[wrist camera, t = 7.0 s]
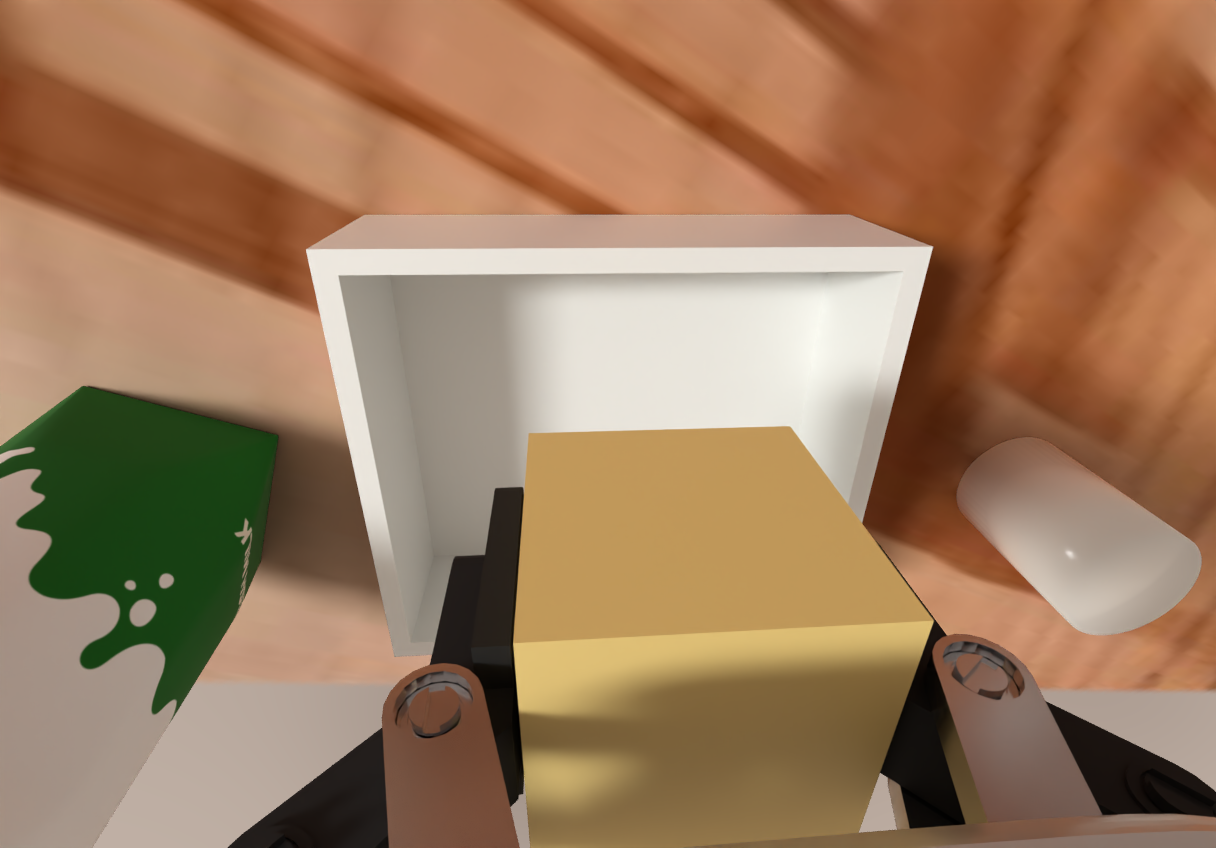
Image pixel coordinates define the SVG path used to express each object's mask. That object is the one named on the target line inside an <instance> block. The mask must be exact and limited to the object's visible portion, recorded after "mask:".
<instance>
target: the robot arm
mask: <svg viewBox="0 0 1216 848" xmlns="http://www.w3.org/2000/svg"><path fill="white" fill-rule="evenodd" d="M523 503H524V489H523V487H507V488H495V491H494V497H493V504H492V511H491V517H490V524H489V531H488V537H487V544H486V551H485V555H470V556H455V557H454V559H453V562H452V566H451V571H450V575H449V580H448V585H447V589H446V594H445V598H444V603H443V607H442V612H441V616H440V621H439V626H438V630H437V635H436V639H435V644H434V648H433V653H432V657H431V662H430V665H428V666H425V667H423V668H420V669H418V670H415V671H413V672H412V673H410V674H409V675H407V676H406V677H405V678H403V679H402V680H400V681H399V683H398V684H397V685H396V686H395V687H394V688H393V689H392V690H391V692H390V693H389V695H388V697H387V699H386V701H385V703H384V706H383V714H382V728H381V729H380V730H378V731H377V732H376V733H374V734H373V735H372V736H371V737H369V738H368V739H367V740H365V741H364V742H363V743H361V744H360V745H359V746H357V747H356V748H355V749H353V750H352V751H351V752H349V753H348V754H347V755H346V756H344V757H343V758H342V759H340V760H339V761H338V762H336V763H335V764H334V765H332V766H331V767H330V768H329V769H327V770H326V771H325V772H323V773H322V774H321V775H319V776H318V777H317V778H315V779H314V780H313V781H312V782H310V783H309V784H307V785H306V786H305V787H304V788H302V789H301V790H300V791H298V792H297V793H296V794H294V795H293V796H292V797H290V798H289V799H288V800H286V801H285V802H284V803H283V804H281V805H280V806H279V807H277V808H276V809H275V810H273V811H272V812H271V813H269V814H268V815H267V816H265V817H264V818H263V819H262V820H260V821H259V822H258V823H256V824H255V825H254V826H252V827H251V828H250V829H248V830H247V831H246V832H244V833H243V834H242V835H241V836H240V837H239V838H237V840H235V841H234V842H233V843H232V844H231V845H230V846H229V847H228V848H520V847H519V843H518V839H517V835H516V831H515V826H514V821H513V817H512V813H511V808H510V807H511V806H512V805H513V804H514V803H515V802H516V801H517V799H518V796H519V794H523V786H524V767H523V755H522V743H521V731H520V719H519V707H518V695H517V683H516V671H515V659H514V647H513V639H514V625H515V612H516V598H517V584H518V571H519V557H520V544H521V530H522V517H523ZM875 542H876V541H875ZM876 543H877V542H876ZM877 544H878V543H877ZM878 546H879V547H880V548H881V546H880V545H879V544H878ZM881 550H882V551H883V552H884V550H883V549H882V548H881ZM884 554H885V555H886V556H887V554H886V553H885V552H884ZM887 558H888V559H889V561H890V562H891V563H892V565H893V566H894V567H895V569H896V570H897V571H898V573H899V574H900V575H901V577H902V578H903V579H904V581H905V582H906V584H907V585H908V586H909V588H910V589H911V590H912V592H913V593H914V594H915V596H916V597H917V598H918V600H919V601H920V602H921V604H922V605H923V607H924V608H925V609H926V611H927V612H928V613H929V615H930V616H931V617H932V619H933V620H934V622H933V625H932V628H931V630H930V633H929V636H928V639H927V642H926V645H925V647H924V650H923V653H922V656H921V659H920V661H919V664H918V667H917V670H916V673H915V675H914V678H913V681H912V684H911V687H910V689H909V692H908V695H907V698H906V701H905V704H904V706H903V709H902V712H901V715H900V718H899V720H898V723H897V726H896V729H895V732H894V734H893V737H892V740H891V743H890V746H889V748H888V751H887V754H886V757H885V760H884V763H883V765H882V768H881V771H880V773H881V774H883V775H885V776H886V777H888V788H889V793H890V798H891V803H892V808H893V813H894V817H895V822H896V827H897V830H888V831H875V832H863V833H851V834H838V835H826V836H814V837H801V838H789V839H777V840H765V841H753V842H741V843H729V844H717V845H705V846H693V847H682V848H1216V792H1215V791H1214V790H1213V789H1212V788H1211V787H1209V786H1208V785H1207V784H1205V783H1204V782H1203V781H1201V780H1200V779H1199V778H1198V777H1196V776H1195V775H1193V774H1192V773H1190V772H1188V771H1186V770H1185V769H1183V768H1181V767H1179V766H1178V765H1176V764H1174V763H1172V762H1170V761H1168V760H1166V759H1164V758H1162V757H1160V756H1157V755H1155V754H1153V753H1151V752H1149V751H1147V750H1145V749H1143V748H1141V747H1139V746H1137V745H1135V744H1133V743H1131V742H1129V741H1127V740H1125V739H1122V738H1120V737H1118V736H1116V735H1114V734H1112V733H1110V732H1108V731H1106V730H1104V729H1102V728H1100V727H1098V726H1095V725H1094V724H1092V723H1089V722H1087V721H1085V720H1083V719H1081V718H1079V717H1077V716H1075V715H1073V714H1071V713H1069V712H1067V711H1065V710H1063V709H1061V708H1059V707H1056V706H1054V705H1052V704H1050V703H1048V702H1046V701H1045V700H1044V698H1043V696H1042V694H1041V692H1040V690H1039V688H1038V686H1037V684H1036V682H1035V680H1034V678H1033V676H1032V675H1031V673H1030V672H1029V670H1028V669H1027V667H1026V666H1025V665H1024V664H1023V663H1022V662H1021V661H1020V660H1019V659H1018V658H1017V657H1016V656H1014V655H1013V654H1012V653H1010V652H1009V651H1007V650H1006V649H1004V648H1003V647H1001V646H999V645H997V644H995V643H993V642H991V641H988V640H986V639H984V638H980V637H976V636H972V635H965V634H953V635H949V636H947V635H946V634H945V632H944V631H943V630H942V628H941V627H940V626H939V624H938V623H937V622H936V620H935V619H934V618H933V616H932V615H931V613H930V612H929V611H928V609H927V608H926V607H925V605H924V604H923V603H922V601H921V600H920V599H919V597H918V596H917V595H916V593H915V592H914V591H913V589H912V588H911V587H910V585H909V584H908V583H907V581H906V580H905V578H904V577H903V576H902V574H901V573H900V572H899V570H898V569H897V568H896V566H895V565H894V564H893V562H892V561H891V560H890V558H889V557H888V556H887Z"/></svg>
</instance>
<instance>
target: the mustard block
mask: <svg viewBox="0 0 1216 848" xmlns="http://www.w3.org/2000/svg"><path fill="white" fill-rule="evenodd" d="M933 622H934V620H933V619H932V617H931V616H930V615H929V613H928V612H927V611H926V609H925V608H924V607H923V605H922V604H921V602H920V601H919V600H918V598H917V597H916V596H915V594H914V593H913V592H912V590H911V589H910V588H909V586H908V585H907V584H906V582H905V581H904V579H903V578H902V577H901V575H900V574H899V573H898V571H897V570H896V569H895V567H894V566H893V565H892V563H891V562H890V561H889V559H888V558H887V556H886V555H885V554H884V552H883V551H882V550H881V548H880V547H879V546H878V544H877V543H876V542H875V540H874V539H873V538H872V536H871V535H870V534H869V532H868V531H867V529H866V528H865V527H864V525H863V524H862V523H861V521H860V520H859V519H858V517H857V516H856V515H855V513H854V512H853V511H852V509H851V508H850V506H849V505H848V504H847V502H846V501H845V500H844V498H843V497H842V496H841V494H840V493H839V492H838V490H837V489H836V488H835V486H834V485H833V483H832V482H831V481H830V479H829V478H828V477H827V475H826V474H825V473H824V471H823V470H822V469H821V467H820V466H819V465H818V463H817V462H816V460H815V459H814V458H813V456H812V455H811V454H810V452H809V451H808V450H807V448H806V447H805V446H804V444H803V443H802V442H801V440H800V439H799V437H798V436H797V435H796V433H795V432H794V431H793V429H792V428H791V427H790V426H775V427H738V428H701V429H664V430H628V431H591V432H554V433H529V435H528V449H527V462H526V476H525V489H524V503H523V517H522V530H521V544H520V557H519V571H518V584H517V598H516V612H515V625H514V639H513V647H514V659H515V671H516V683H517V695H518V707H519V719H520V731H521V743H522V755H523V767H524V778H525V791H526V803H527V815H528V827H529V838H530V848H682V847H693V846H705V845H717V844H729V843H741V842H753V841H765V840H777V839H789V838H801V837H814V836H826V835H838V834H851V833H859V830H860V827H861V824H862V822H863V819H864V816H865V813H866V810H867V807H868V805H869V801H870V799H871V796H872V793H873V790H874V788H875V785H876V782H877V779H878V777H879V774H880V771H881V768H882V765H883V763H884V760H885V757H886V754H887V751H888V748H889V746H890V743H891V740H892V737H893V734H894V732H895V729H896V726H897V723H898V720H899V718H900V715H901V712H902V709H903V706H904V704H905V701H906V698H907V695H908V692H909V689H910V687H911V684H912V681H913V678H914V675H915V673H916V670H917V667H918V664H919V661H920V659H921V656H922V653H923V650H924V647H925V645H926V642H927V639H928V636H929V633H930V630H931V628H932V625H933Z"/></svg>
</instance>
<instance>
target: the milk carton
mask: <svg viewBox="0 0 1216 848" xmlns="http://www.w3.org/2000/svg"><path fill="white" fill-rule="evenodd" d="M277 444H278V435H275V434H271V433H267V432H263V431H259V430H255V429H251V428H247V427H243V426H239V425H235V424H232V423H228V422H224V421H220V420H216V419H212V418H208V417H204V416H200V415H196V414H192V413H188V412H184V411H180V410H176V409H173V408H169V407H165V406H161V405H157V404H153V403H149V402H145V401H141V400H137V399H133V398H129V397H125V396H121V395H117V394H114V393H110V392H106V391H102V390H98V389H94V388H90V387H86V386H82V387H80V388H79V389H78V390H76V391H75V392H74V393H72V394H71V395H70V396H68V397H67V398H66V399H64V400H63V401H62V402H60V403H59V404H57V405H56V406H55V407H53V408H52V409H51V410H49V411H48V412H47V413H45V414H44V415H42V416H41V417H40V418H38V419H37V420H36V421H34V422H33V423H32V424H30V425H29V426H27V427H26V428H25V429H23V430H22V431H21V432H19V433H18V434H17V435H15V436H14V437H12V438H11V439H10V440H8V441H7V442H6V443H4V444H3V445H2V446H0V848H93V846H94V844H95V843H96V841H97V840H98V838H99V836H100V834H101V833H102V832H103V830H104V828H105V827H106V825H107V824H108V822H109V820H110V818H111V817H112V815H113V814H114V812H115V811H116V809H117V807H118V806H119V804H120V802H121V801H122V799H123V798H124V796H125V795H126V793H127V791H128V790H129V788H130V786H131V785H132V783H133V782H134V780H135V778H136V777H137V775H138V774H139V772H140V770H141V769H142V767H143V765H144V764H145V762H146V761H147V759H148V757H149V756H150V754H151V753H152V751H153V749H154V748H155V746H156V744H157V743H158V741H159V740H160V738H161V736H162V735H163V733H164V732H165V730H166V728H167V727H168V725H169V724H170V722H171V720H172V719H173V717H174V716H175V714H176V712H177V711H178V709H179V707H180V706H181V704H182V702H183V701H184V699H185V698H186V696H187V695H188V693H189V691H190V690H191V688H192V686H193V685H194V683H195V682H196V680H197V678H198V677H199V675H200V674H201V672H202V670H203V669H204V667H205V665H206V664H207V662H208V661H209V659H210V657H211V656H212V654H213V653H214V651H215V649H216V648H217V646H218V645H219V643H220V641H221V640H222V638H223V636H224V635H225V633H226V631H227V630H228V628H229V627H230V625H231V623H232V622H233V620H234V618H235V616H236V615H237V613H238V611H239V609H240V607H241V604H242V602H243V600H244V598H245V596H246V593H247V591H248V589H249V586H250V584H251V582H252V580H253V577H254V575H255V573H256V571H257V568H258V566H259V564H260V562H261V555H262V548H263V542H264V535H265V528H266V521H267V514H268V507H269V500H270V493H271V486H272V479H273V472H274V465H275V458H276V451H277Z"/></svg>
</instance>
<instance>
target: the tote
mask: <svg viewBox="0 0 1216 848" xmlns="http://www.w3.org/2000/svg"><path fill="white" fill-rule="evenodd" d="M932 249H933V246H930V245H927V244H925V243H922V242H920V241H917V240H914V239H912V238H909V237H907V236H904V235H901V234H899V233H896V232H894V231H891V230H888V229H886V228H883V227H881V226H878V225H875V224H873V223H870V222H868V221H865V220H862V219H860V218H857V217H855V216H852V215H363V216H362V217H360V218H358V219H357V220H355V221H353V222H352V223H350V224H348V225H346V226H345V227H343V228H341V229H340V230H338V231H336V232H335V233H333V234H331V235H330V236H328V237H326V238H324V239H323V240H321V241H319V242H318V243H316V244H314V245H313V246H311V247H309V248H307V249H306V252H307V256H308V261H309V265H310V270H311V275H312V279H313V284H314V288H315V293H316V298H317V302H318V307H319V311H320V316H321V321H322V325H323V330H324V334H325V339H326V344H327V348H328V353H329V357H330V362H331V367H332V371H333V376H334V380H335V385H336V390H337V394H338V399H339V403H340V408H341V413H342V417H343V422H344V426H345V431H346V436H347V440H348V445H349V449H350V454H351V459H352V463H353V468H354V472H355V477H356V481H357V486H358V491H359V495H360V500H361V504H362V509H363V514H364V518H365V523H366V527H367V532H368V537H369V541H370V546H371V550H372V555H373V560H374V564H375V569H376V573H377V578H378V583H379V587H380V592H381V596H382V601H383V606H384V610H385V615H386V619H387V624H388V629H389V633H390V638H391V642H392V647H393V652H394V656H395V657H400V656H420V655H432V653H433V648H434V644H435V639H436V635H437V630H438V626H439V621H440V616H441V612H442V607H443V603H444V598H445V594H446V589H447V585H448V580H449V575H450V571H451V566H452V562H453V559H454V557H455V556H470V555H485V551H486V544H487V537H488V531H489V524H490V517H491V511H492V504H493V497H494V491H495V488H507V487H523V489H525V476H526V462H527V449H528V435H529V433H554V432H591V431H628V430H664V429H701V428H738V427H775V426H790V427H791V428H792V429H793V431H794V432H795V433H796V435H797V436H798V437H799V439H800V440H801V442H802V443H803V444H804V446H805V447H806V448H807V450H808V451H809V452H810V454H811V455H812V456H813V458H814V459H815V460H816V462H817V463H818V465H819V466H820V467H821V469H822V470H823V471H824V473H825V474H826V475H827V477H828V478H829V479H830V481H831V482H832V483H833V485H834V486H835V488H836V489H837V490H838V492H839V493H840V494H841V496H842V497H843V498H844V500H845V501H846V502H847V504H848V505H849V506H850V508H851V509H852V511H853V512H854V513H855V515H856V516H857V517H858V519H859V520H860V521H861V523H862V521H863V517H864V514H865V510H866V506H867V502H868V498H869V494H870V490H871V486H872V482H873V479H874V475H875V471H876V467H877V463H878V459H879V455H880V451H881V447H882V443H883V440H884V436H885V432H886V428H887V424H888V420H889V416H890V412H891V408H892V405H893V401H894V397H895V393H896V389H897V385H898V381H899V377H900V373H901V370H902V366H903V362H904V358H905V354H906V350H907V346H908V342H909V338H910V335H911V331H912V327H913V323H914V319H915V315H916V311H917V307H918V303H919V299H920V296H921V292H922V288H923V284H924V280H925V276H926V272H927V268H928V264H929V261H930V257H931V253H932Z"/></svg>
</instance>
